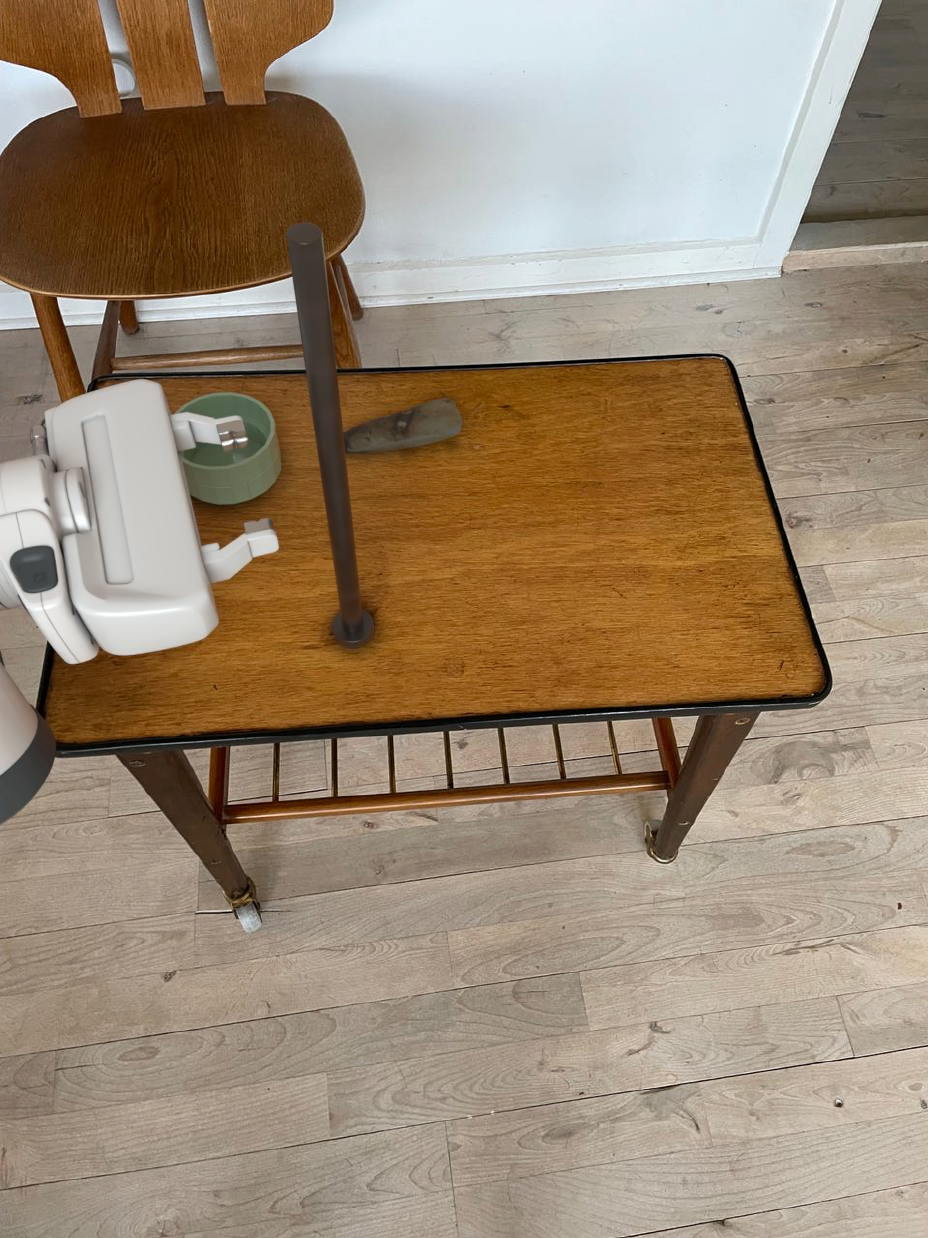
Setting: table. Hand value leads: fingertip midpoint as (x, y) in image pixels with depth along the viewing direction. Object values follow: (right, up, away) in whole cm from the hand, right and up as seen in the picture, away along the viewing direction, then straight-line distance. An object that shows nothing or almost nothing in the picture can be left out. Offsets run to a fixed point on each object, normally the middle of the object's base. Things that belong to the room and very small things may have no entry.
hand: (260, 479), depth 56 cm
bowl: (-10, +6, +28) cm, 30 cm away
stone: (+7, +10, +32) cm, 34 cm away
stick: (+4, -10, +19) cm, 22 cm away
